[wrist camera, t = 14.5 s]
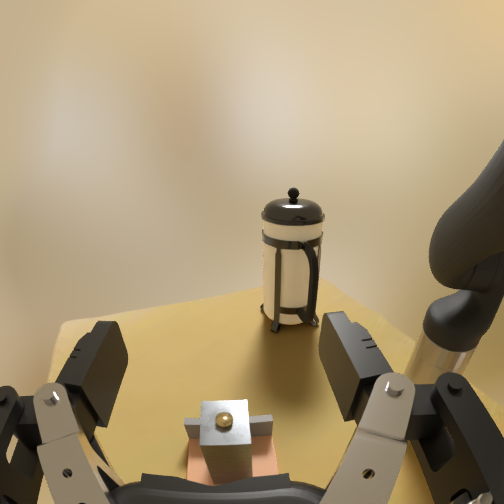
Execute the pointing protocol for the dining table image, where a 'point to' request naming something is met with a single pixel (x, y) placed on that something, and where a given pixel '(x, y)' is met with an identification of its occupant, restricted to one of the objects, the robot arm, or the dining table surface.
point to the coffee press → (291, 260)
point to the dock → (260, 446)
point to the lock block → (226, 440)
